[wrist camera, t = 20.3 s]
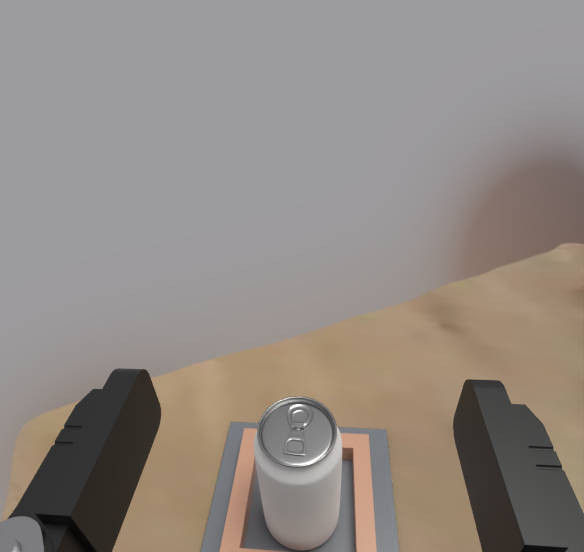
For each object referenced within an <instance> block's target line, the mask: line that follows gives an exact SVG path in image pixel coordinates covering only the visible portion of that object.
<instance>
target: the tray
mask: <svg viewBox="0 0 584 552" xmlns="http://www.w3.org/2000/svg"><path fill="white" fill-rule="evenodd" d="M257 428H258V423H245V422H231V423H230V428H229V432H228V436H227V441H226V445H225V449H224V453H223V458H222V462H221V466H220V471H219V475H218V479H217V483H216V488H215V492H214V496H213V501H212V505H211V509H210V514H209V518H208V522H207V526H206V531H205V535H204V539H203V544H202V548H201V552H399V544H398V535H397V526H396V516H395V507H394V498H393V488H392V479H391V470H390V460H389V451H388V442H387V432H386V429H366V428H346V427H338V429H339V431H340V434H341V438H342V472H341V492H340V509H339V518H338V522H337V526H336V528H335V530H334V532H333V534H332V535H331V536H330V538H329V539H328V540H327V541H326V542H324V543H323V544H322V545H320V546H318V547H316V548H314V549H310V550H293V549H290V548H287V547H285V546H283V545H282V544H280V543H279V542H278V541H277V540H276V539H275V538H274V537H273V536H272V534H271V533H270V531H269V529H268V527H267V524H266V521H265V517H264V512H263V506H262V500H261V494H260V488H259V482H258V476H257V470H256V464H255V457H254V438H255V434H256V431H257Z"/></svg>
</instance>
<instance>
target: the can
mask: <svg viewBox="0 0 584 552" xmlns="http://www.w3.org/2000/svg"><path fill="white" fill-rule="evenodd" d="M254 457H255V464H256V470H257V476H258V482H259V488H260V494H261V500H262V506H263V512H264V517H265V521H266V524H267V527H268V529H269V531H270V533H271V534H272V536H273V537H274V538H275V539H276V540H277V541H278V542H279V543H280V544H282V545H283V546H285V547H287V548H290V549H293V550H310V549H314V548H316V547H318V546H320V545H322V544H323V543H324V542H326V541H327V540H328V539H329V538H330V536H331V535H332V534H333V532H334V530H335V528H336V526H337V522H338V518H339V509H340V492H341V472H342V438H341V434H340V431H339V429H338V427H337V425H336V421H335V419H334V417H333V415H332V413H331V412H330V411H329V409H328V408H327V407H325V406H324V405H323V404H322V403H320V402H318V401H316V400H314V399H311V398H307V397H288V398H285V399H282V400H279V401H277V402H275V403H274V404H272V405H271V406H270V407H269V408H268V409H267V410H266V411H265V412H264V413H263V415H262V416H261V418H260V420H259V423H258V428H257V431H256V434H255V438H254Z"/></svg>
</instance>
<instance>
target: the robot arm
mask: <svg viewBox="0 0 584 552" xmlns="http://www.w3.org/2000/svg"><path fill="white" fill-rule="evenodd" d="M160 419H161V407H160V403H159V400H158V398H157V395H156V392H155V389H154V387H153V384H152V381H151V378H150V376H149V373H148V372H147V370H144V369H115V370H114V371H113V372H112V373H111V374H110V376H109V378H108V380H107V382H106V384H105V385H104V387H103V389H93V390H92V391H91V392H90V393H89V394H88V395H86V396H85V397H84V398H83V399H82V400H81V401H80V402H79V403H78V404H77V405H76V406H75V408H74V409H73V411H72V413H71V415H70V416H69V418H68V420H67V421H66V423H65V425H64V426H65V427H64V429H62V430H61V432H60V433H59V435H58V437H57V438H56V440H55V445H54V446H52V447H51V449H50V450H49V452H48V454H47V456H46V457H45V459H44V461H43V462H42V464H41V466H40V468H39V469H38V471H37V473H36V474H35V476H34V478H33V479H32V481H31V483H30V485H29V486H28V488H27V490H26V491H25V493H24V495H23V497H22V498H21V500H20V502H19V503H18V505H17V507H16V508H15V510H14V511H13V513H12V514H11V515H10V516H9V518H8V519H7V520H4V521H2V522H0V552H112V550H113V547H114V545H115V542H116V540H117V537H118V534H119V532H120V529H121V526H122V524H123V521H124V518H125V516H126V513H127V510H128V508H129V505H130V503H131V500H132V497H133V495H134V492H135V489H136V487H137V484H138V481H139V479H140V476H141V473H142V471H143V468H144V466H145V463H146V460H147V458H148V455H149V452H150V450H151V447H152V444H153V442H154V439H155V436H156V434H157V431H158V428H159V425H160ZM453 430H454V439H455V444H456V448H457V452H458V456H459V460H460V464H461V468H462V472H463V476H464V480H465V483H466V487H467V491H468V495H469V499H470V503H471V507H472V511H473V515H474V519H475V523H476V527H477V531H478V535H479V539H480V543H481V547H482V551H483V552H584V513H583V511H582V509H581V507H580V505H579V502H578V500H577V498H576V496H575V494H574V491H573V489H572V487H571V485H570V483H569V480H568V478H567V476H566V474H565V471H563V470H562V465H561V463H560V460H559V458H558V456H557V454H556V452H555V451H554V450H553V445H552V443H551V441H550V438H549V436H548V434H547V432H546V430H545V427H544V425H543V424H542V423H541V421H540V420H539V419H538V418H537V417H536V416H535V415H534V414H533V413H532V412H531V411H530V409H529V408H528V407H527V406H526V405H521V404H511V402H510V400H509V397H508V395H507V392H506V390H505V387H504V385H503V384H502V383H501V382H500V381H498V380H466V381H465V383H464V385H463V389H462V392H461V395H460V399H459V402H458V405H457V409H456V412H455V415H454V422H453Z"/></svg>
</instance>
